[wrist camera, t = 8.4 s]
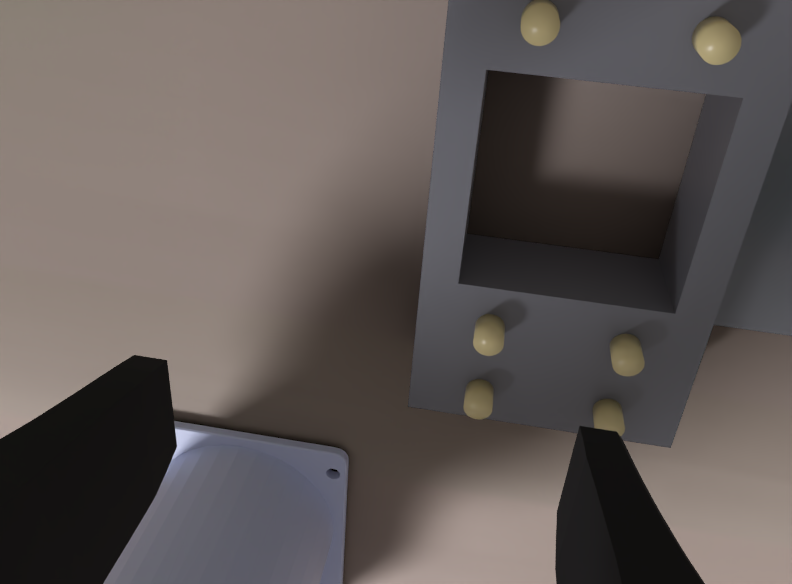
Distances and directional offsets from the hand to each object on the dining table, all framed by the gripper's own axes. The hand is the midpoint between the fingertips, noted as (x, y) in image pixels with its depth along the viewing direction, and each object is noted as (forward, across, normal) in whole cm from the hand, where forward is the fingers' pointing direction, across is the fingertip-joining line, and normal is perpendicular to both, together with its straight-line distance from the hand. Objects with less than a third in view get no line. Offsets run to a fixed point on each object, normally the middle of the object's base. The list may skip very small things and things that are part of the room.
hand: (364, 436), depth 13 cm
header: (+10, -4, -2) cm, 11 cm away
